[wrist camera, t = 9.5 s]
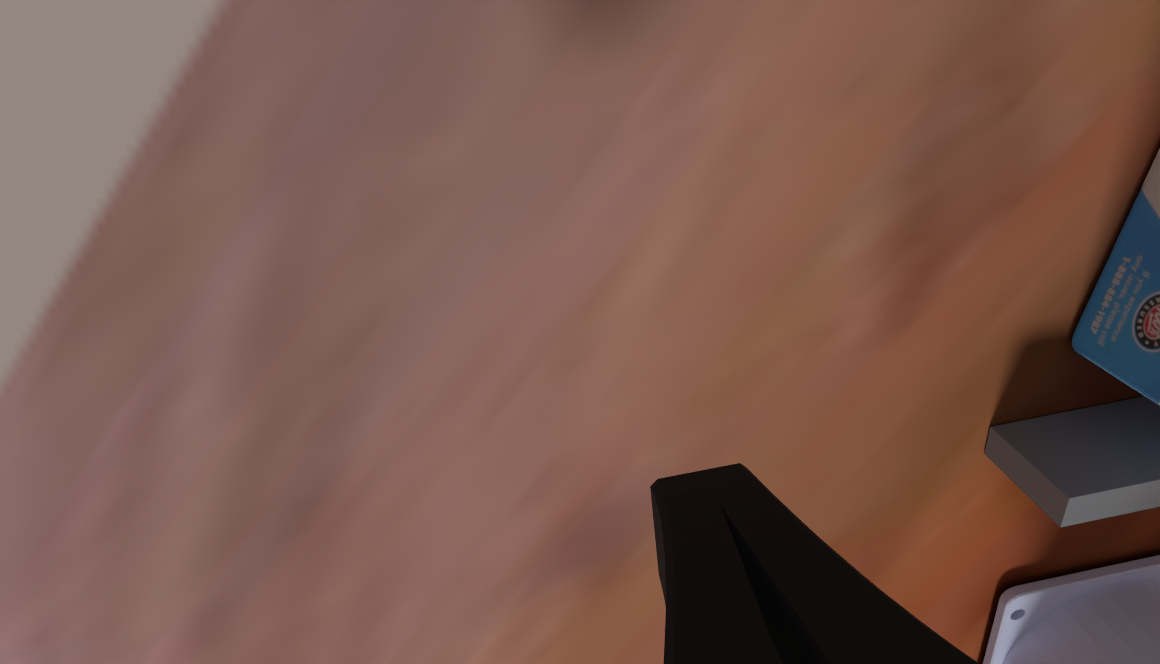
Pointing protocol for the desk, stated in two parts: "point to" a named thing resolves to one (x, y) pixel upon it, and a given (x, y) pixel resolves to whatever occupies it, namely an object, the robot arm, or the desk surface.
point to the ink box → (1129, 299)
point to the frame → (1084, 460)
